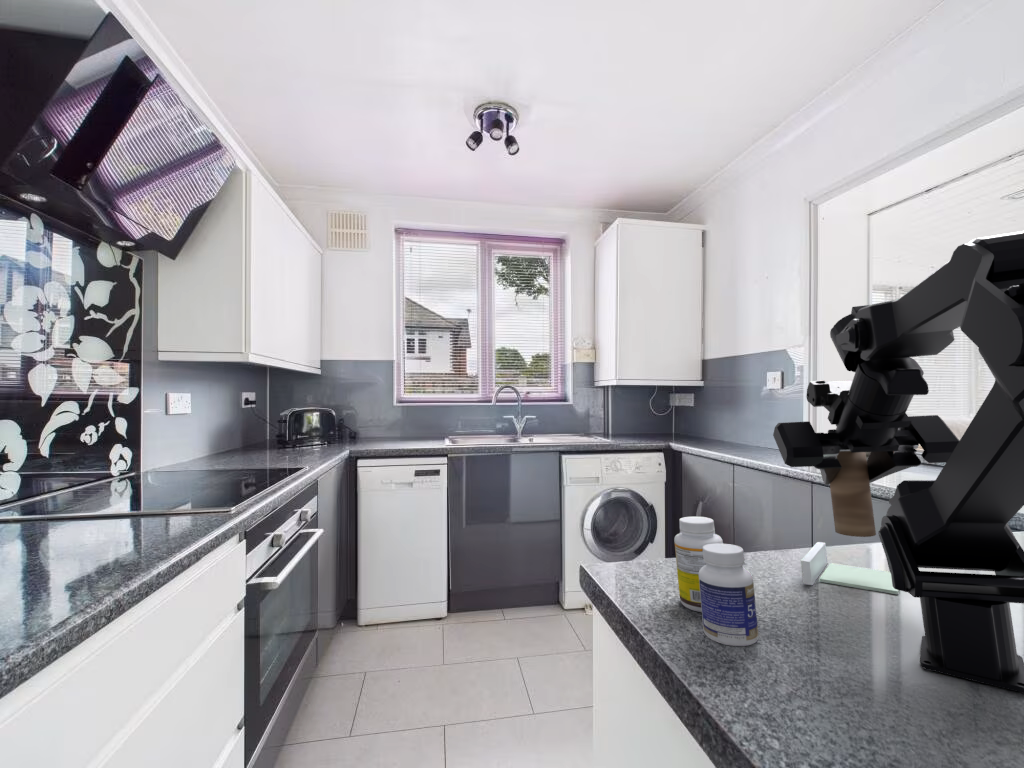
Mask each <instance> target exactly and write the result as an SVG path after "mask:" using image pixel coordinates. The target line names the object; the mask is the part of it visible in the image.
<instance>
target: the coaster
mask: <svg viewBox="0 0 1024 768" xmlns="http://www.w3.org/2000/svg"><path fill="white" fill-rule="evenodd" d="M823 571H824V572H823V573H821V576H819V582H820V583H825V584H831V585H836V586H837V585H838V586H844V587H850V588H855V589H861V590H867V591H872V592H873V591H874V592H880V593H885V594H886V593H887V594H890V595H899V593H900V590H897V589H895V588H893V585H892V577H891V573H890V571H888V570H882V569H875V568H874V569H873V568H869V567H862V566H854V565H847V564H840V563H832V562H829V563H828V565H827V566H826V568H825V570H823Z"/></svg>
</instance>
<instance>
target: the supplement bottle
mask: <svg viewBox="0 0 1024 768" xmlns="http://www.w3.org/2000/svg"><path fill="white" fill-rule="evenodd" d="M678 523H679V533H677V534H676V535H675V536H674V539H673V540H674V550H675V561H676V571H677V581H678V582H677V583H678V584H677V585H678V595H679V600H680V603H681V604H682V605H683V606H684V607H685V608H686V609H688V610H690V611H694V612H698V613H702V607H701V596H700V584H699V570H700V569H701V568H702V567H703V566H705V565H706V562H704V558H703V546H705V545H708V544H717V543H721V544H724V541H723V539H722V537H721V536H720V535H719V534H717V533H716V531H715V530H716V528H715V521H714V519H712V518H710V517H706V516H684V517H681V518H679V522H678Z"/></svg>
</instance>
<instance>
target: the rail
mask: <svg viewBox="0 0 1024 768" xmlns="http://www.w3.org/2000/svg"><path fill="white" fill-rule="evenodd" d="M800 564H801V573H802V584H803V585H807V586H813V585H814V584H815V582H816V581H817V579H818V578H820V575H822V572H823V571H825V570H824V569H826V568H827V566H828V565H829V563H828V553H827V546H826V542H822V541H816V543H815V544H814V545H813V546H812V548H811V549H809V551H808V552H807V553H806V554H805V555H804V556H803V558H802V559H801V560H800Z"/></svg>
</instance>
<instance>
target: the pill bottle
mask: <svg viewBox="0 0 1024 768" xmlns="http://www.w3.org/2000/svg"><path fill="white" fill-rule="evenodd" d="M703 558H704V562H706V565H705V566H703V567H702V568H701V569H700V570H699V584H700V596H701V607H702V612H701V618H702V619H701V620H702V629H703V633H704V634H705V635H706V636H707V637H708V639H710V640H712V641H713V642H716V643H719V644H721V645H727V646H731V647H745V646H746V647H747V646H751V645H753V644H756V642H758V640H759V636H760V635H759V626H758V619H757V618H758V617H757V607H756V606H757V605H756V595H755V586H754V585H755V584H754V578H753V577H754V576H753V575H752V573H751V572H750V571H749V570H748V569H746V568H745V567H744V565H745V564H746V562H745V561H746V559H745V553H744V549H743V547H741V546H740V545H737V544H736V545H735V544H732V543H731V544H730V543H723V544H721V543H717V544H708V545H705V546H703Z"/></svg>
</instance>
